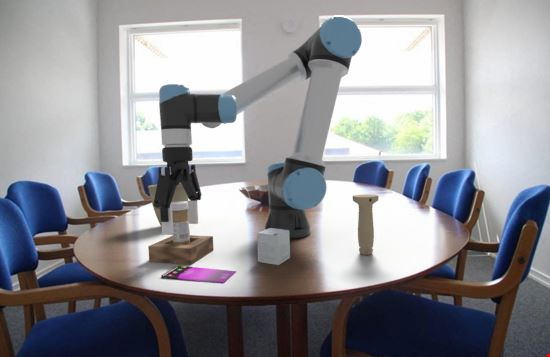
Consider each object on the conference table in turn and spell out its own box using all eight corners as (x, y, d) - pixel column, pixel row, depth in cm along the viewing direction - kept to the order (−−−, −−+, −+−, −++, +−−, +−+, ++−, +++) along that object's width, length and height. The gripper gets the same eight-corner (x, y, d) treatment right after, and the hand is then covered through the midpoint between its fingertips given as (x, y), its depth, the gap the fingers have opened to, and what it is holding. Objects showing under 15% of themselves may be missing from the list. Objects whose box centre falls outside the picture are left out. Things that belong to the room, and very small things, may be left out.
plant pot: (200, 224, 127) (198, 183, 126) (169, 232, 115) (166, 187, 114) (173, 221, 135) (171, 182, 134) (142, 228, 123) (139, 186, 122)
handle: (382, 255, 83) (382, 196, 82) (359, 257, 82) (358, 197, 81) (372, 249, 88) (371, 193, 87) (350, 252, 87) (349, 195, 86)
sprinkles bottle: (190, 248, 91) (187, 200, 90) (191, 253, 86) (188, 202, 85) (172, 251, 89) (169, 201, 88) (173, 255, 85) (169, 204, 84)
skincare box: (270, 255, 86) (269, 227, 86) (290, 258, 83) (290, 229, 83) (257, 262, 81) (256, 232, 81) (278, 265, 78) (277, 235, 78)
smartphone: (178, 268, 79) (178, 264, 79) (236, 273, 75) (236, 269, 75) (160, 279, 72) (160, 275, 72) (223, 285, 68) (223, 281, 68)
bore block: (213, 250, 92) (212, 236, 92) (191, 264, 81) (190, 248, 80) (175, 248, 95) (174, 234, 95) (149, 261, 84) (148, 246, 84)
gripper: (188, 147, 98) (191, 219, 100) (133, 146, 75) (139, 239, 77) (211, 146, 96) (214, 219, 98) (162, 145, 73) (167, 241, 75)
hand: (181, 228), depth 87 cm, fingers open, 12 cm apart
